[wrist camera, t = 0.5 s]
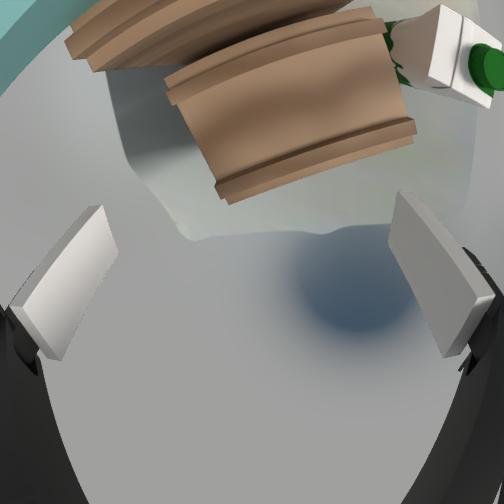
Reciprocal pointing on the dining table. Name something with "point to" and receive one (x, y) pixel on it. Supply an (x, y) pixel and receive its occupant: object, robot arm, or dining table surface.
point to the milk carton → (446, 56)
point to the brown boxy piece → (260, 81)
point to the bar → (32, 30)
